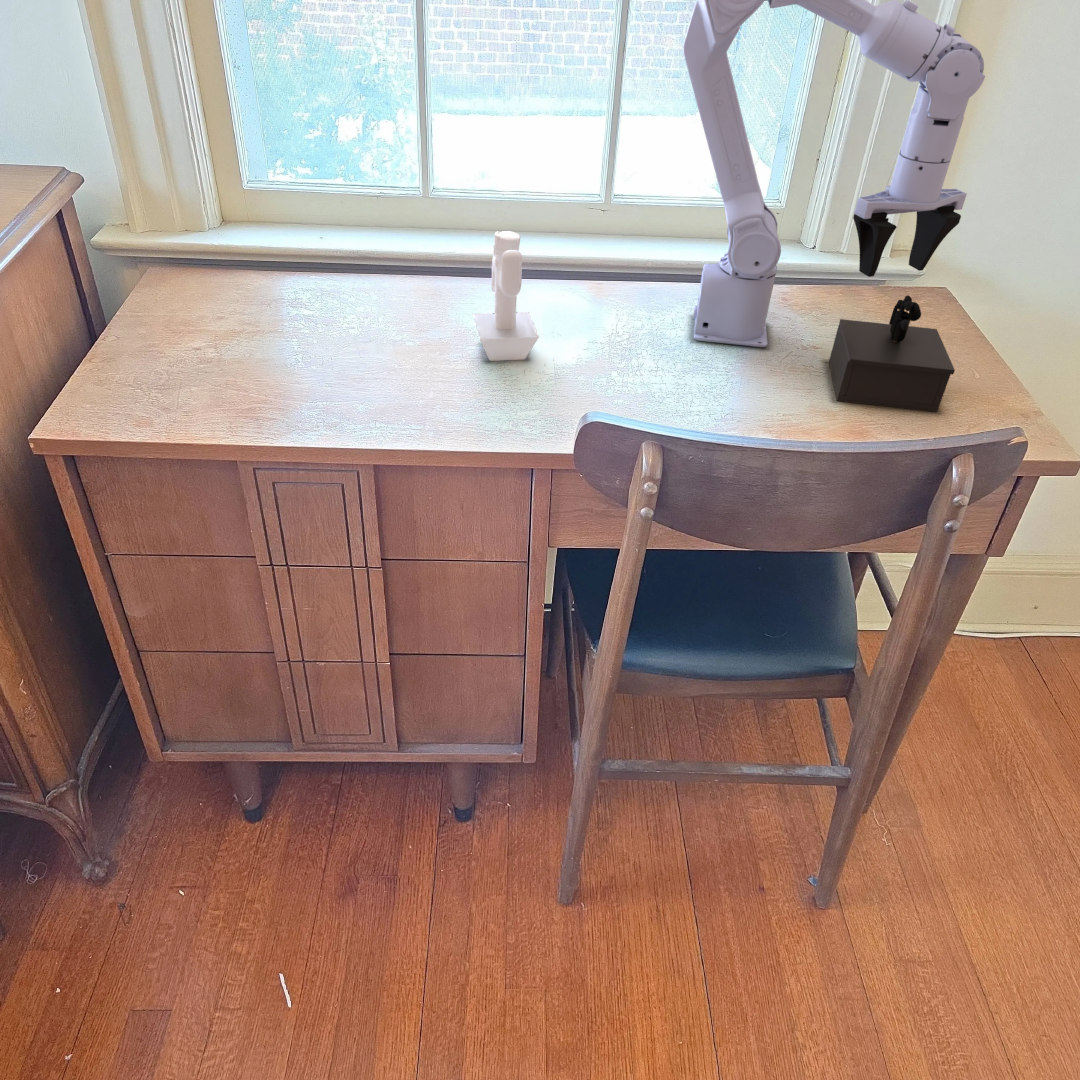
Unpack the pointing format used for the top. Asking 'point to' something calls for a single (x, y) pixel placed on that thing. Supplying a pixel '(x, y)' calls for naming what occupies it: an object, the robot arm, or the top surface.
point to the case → (884, 383)
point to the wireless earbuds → (903, 318)
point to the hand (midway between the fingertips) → (891, 270)
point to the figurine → (506, 305)
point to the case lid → (895, 347)
